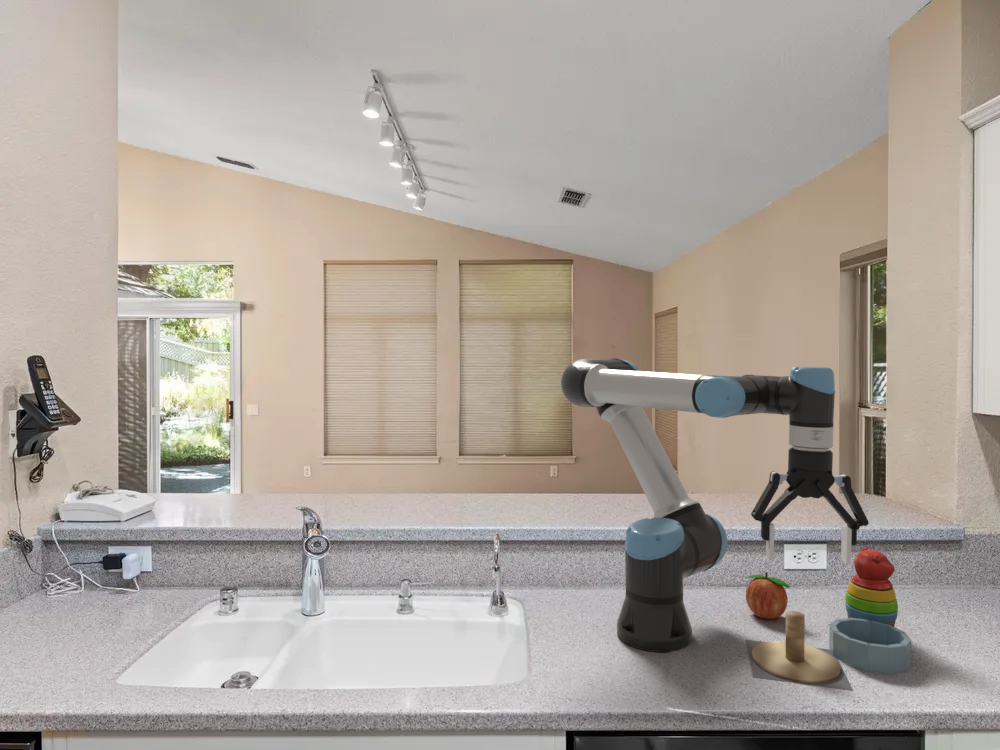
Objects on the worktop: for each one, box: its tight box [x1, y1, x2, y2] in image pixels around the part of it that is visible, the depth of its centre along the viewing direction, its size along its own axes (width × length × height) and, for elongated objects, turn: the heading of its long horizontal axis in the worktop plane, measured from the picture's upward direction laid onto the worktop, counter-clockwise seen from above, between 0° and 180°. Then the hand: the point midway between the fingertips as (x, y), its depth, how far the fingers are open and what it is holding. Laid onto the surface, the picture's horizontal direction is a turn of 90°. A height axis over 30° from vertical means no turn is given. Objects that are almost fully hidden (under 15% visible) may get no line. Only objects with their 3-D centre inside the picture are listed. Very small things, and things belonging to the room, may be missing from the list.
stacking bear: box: [845, 546, 899, 627], centre depth 130 cm, size 11×10×18 cm
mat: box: [745, 639, 854, 691], centre depth 117 cm, size 16×16×1 cm
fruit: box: [745, 571, 791, 620], centre depth 140 cm, size 9×10×10 cm
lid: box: [752, 610, 841, 683], centre depth 117 cm, size 15×15×9 cm
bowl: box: [828, 617, 912, 675], centre depth 120 cm, size 13×13×5 cm
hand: (807, 559), depth 119 cm, fingers open, 13 cm apart
